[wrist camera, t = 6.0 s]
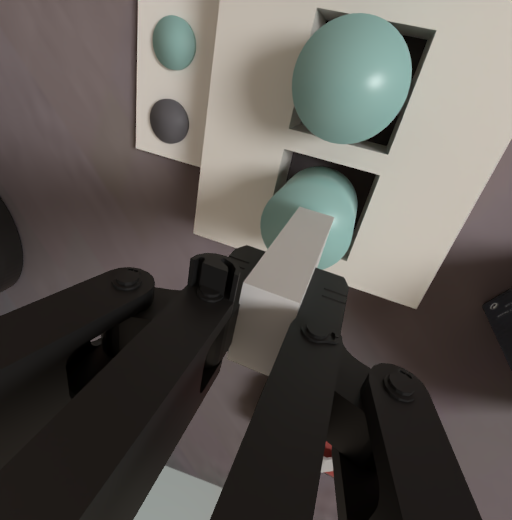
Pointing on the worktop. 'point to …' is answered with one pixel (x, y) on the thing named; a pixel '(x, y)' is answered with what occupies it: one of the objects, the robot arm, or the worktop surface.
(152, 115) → the pattern card
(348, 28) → the button
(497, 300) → the small box
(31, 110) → the worktop surface
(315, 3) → the board
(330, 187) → the button
